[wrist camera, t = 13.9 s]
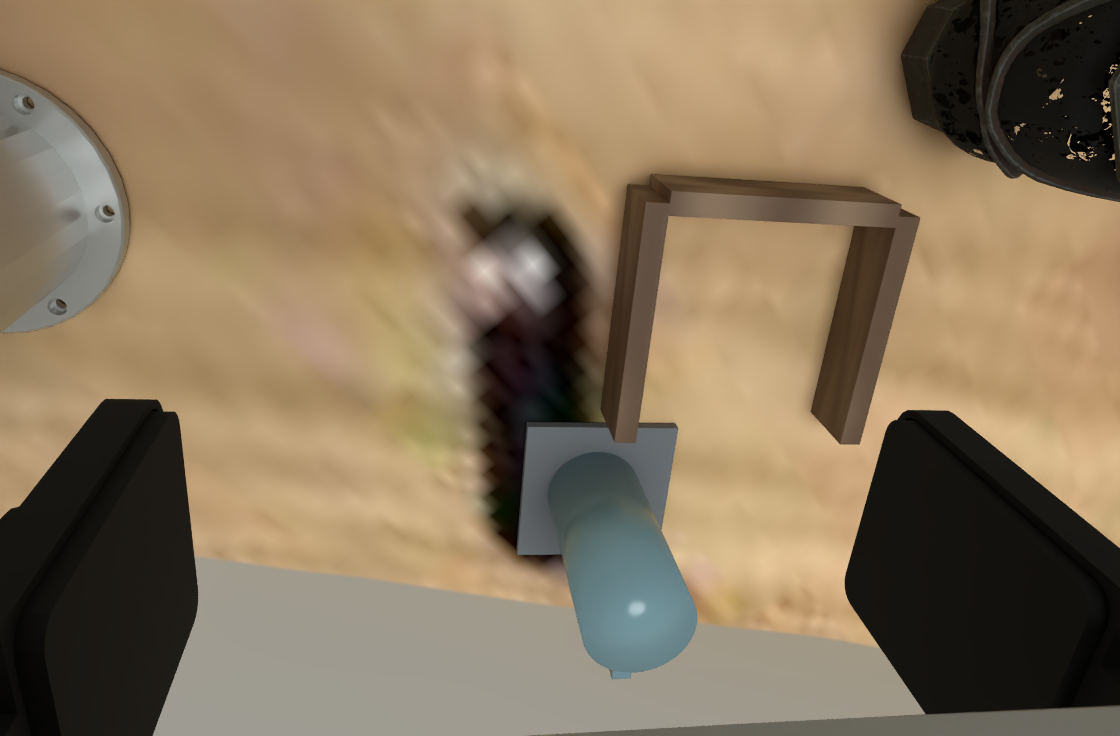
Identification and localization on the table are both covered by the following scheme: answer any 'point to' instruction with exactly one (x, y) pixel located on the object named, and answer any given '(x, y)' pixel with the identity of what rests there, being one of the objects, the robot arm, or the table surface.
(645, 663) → the jug
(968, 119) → the lantern
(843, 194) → the brown u-shaped frame
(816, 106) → the table surface
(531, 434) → the coaster
